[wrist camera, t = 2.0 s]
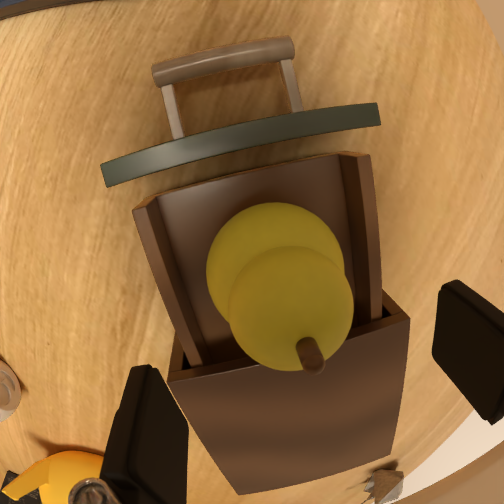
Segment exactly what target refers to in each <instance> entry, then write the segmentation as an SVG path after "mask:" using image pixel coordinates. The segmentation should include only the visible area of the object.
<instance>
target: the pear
mask: <svg viewBox="0 0 504 504" xmlns="http://www.w3.org/2000/svg"><path fill="white" fill-rule="evenodd" d="M344 274H345V273H344V260H343V255H342V251H341V249H340V246H339V243H338V241H337V239H336V237H335V235H334V234H333V233H332V231H331V230H330V228H329V227H328V226H327V225H326V224H325V223H324V222H323V221H322V220H321V219H320V218H319V217H317V216H316V215H315V214H313V213H311V212H309V211H308V210H306V209H304V208H302V207H299V206H296V205H292V204H288V203H279V202H273V203H263V204H258V205H255V206H252V207H249V208H247V209H245V210H243V211H241V212H239V213H238V214H236V215H235V216H234V217H232V218H231V219H230V220H229V221H228V222H227V223H226V224H225V225H224V226H223V227H222V228H221V229H220V231H219V232H218V234H217V235H216V237H215V239H214V241H213V243H212V245H211V248H210V251H209V254H208V259H207V264H206V277H207V285H208V289H209V293H210V295H211V298H212V300H213V303H214V305H215V306H216V308H217V310H218V311H219V312H220V314H221V315H222V316H223V317H224V319H225V320H226V321H227V322H228V323H230V327H231V330H232V333H233V335H234V337H235V339H236V341H237V342H238V344H239V345H240V347H241V348H242V349H243V350H244V351H245V353H246V354H248V355H249V356H250V357H251V358H252V359H254V360H255V361H257V362H258V363H260V364H262V365H264V366H267V367H269V368H272V369H276V370H281V371H298V370H304V371H305V372H306V373H307V374H309V375H317V374H319V373H321V372H322V371H323V370H324V368H325V360H327V359H328V358H329V357H331V356H332V355H333V354H334V353H335V352H336V351H337V350H338V349H339V348H340V346H341V345H342V344H343V342H344V340H345V339H346V337H347V335H348V332H349V330H350V328H351V324H352V319H353V312H354V303H353V296H352V291H351V288H350V285H349V283H348V281H347V279H346V277H345V275H344Z"/></svg>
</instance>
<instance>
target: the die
mask: <svg viewBox="0 0 504 504" xmlns="http://www.w3.org/2000/svg"><path fill="white" fill-rule="evenodd" d="M20 400H21V390H20V385H19V382H18V379H17V377H16V375H15V374H14V372H13V371H12V370H11V369H10V367H9V366H8V365H7V364H5V363H4V362H3V361H2V360H0V422H2V421H4V420H6V419H7V418H8V417H10V416H11V415H12V414H13V412H14V411H15V410H16V409H17V407H18V405H19V403H20Z"/></svg>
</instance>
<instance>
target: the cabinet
mask: <svg viewBox="0 0 504 504" xmlns="http://www.w3.org/2000/svg"><path fill="white" fill-rule="evenodd" d="M409 332H410V317H409V316H408V315H407V314H406V313H405V312H404V311H403V310H402V309H401V308H400V307H399V306H398V305H397V304H396V303H395V301H394V300H393V299H392V298H391V297H390V296H389V295H388V294H387V293H386V292H385V291H384V290H383V289H382V319H380V320H377V321H374V322H371V323H368V324H365V325H362V326H359V327H356V328H353V329H350V330H349V332H348V335H347V337H346V339H345V340H344V342H343V344H342V345H341V346H340V348H339V349H338V350H337V351H336V352H335V353H334V354H333V355H332V356H331V357H329V358H328V359H327V360H325V368H324V370H323V371H322V372H321V373H319V374H317V375H309V374H307V373H306V372H305V371H304V370H298V371H281V370H276V369H272V368H269V367H267V366H264V365H262V364H260V363H258V362H257V361H255V360H254V359H252V358H251V357H246V358H242V359H237V360H233V361H228V362H223V363H219V364H214V365H209V366H204V367H198V368H193V369H192V368H191V365H190V363H189V361H188V359H187V357H186V354H185V352H184V350H183V347H182V345H181V343H180V341H179V338H178V336H177V333H176V331H175V336H174V342H173V347H172V353H171V359H170V365H169V371H168V377H167V384H168V386H169V388H170V390H171V391H172V393H173V395H174V397H175V398H176V400H177V402H178V404H179V405H180V407H181V409H182V411H183V412H184V414H185V416H186V417H187V419H188V421H189V422H190V424H191V426H192V427H193V429H194V431H195V432H196V434H197V435H198V437H199V439H200V440H201V442H202V443H203V445H204V446H205V448H206V450H207V451H208V453H209V454H210V456H211V457H212V459H213V460H214V462H215V463H216V465H217V466H218V467H219V469H220V470H221V472H222V473H223V475H224V476H225V478H226V479H227V480H228V482H229V483H230V485H231V486H232V487H233V489H234V490H235V491H236V493H237V494H238V495H245V494H252V493H258V492H263V491H269V490H274V489H279V488H284V487H288V486H293V485H297V484H301V483H305V482H309V481H313V480H317V479H320V478H324V477H327V476H331V475H334V474H337V473H340V472H344V471H347V470H350V469H353V468H356V467H358V466H361V465H364V464H367V463H370V462H372V461H375V460H378V459H380V458H383V457H385V456H388V455H390V454H391V449H392V445H393V440H394V436H395V431H396V426H397V421H398V416H399V410H400V404H401V398H402V392H403V385H404V378H405V371H406V362H407V353H408V343H409Z"/></svg>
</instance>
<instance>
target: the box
mask: <svg viewBox="0 0 504 504" xmlns="http://www.w3.org/2000/svg"><path fill="white" fill-rule="evenodd" d="M17 477H18V475H16V474H14V473H12V472H9V471H7V474H6V476H5V479H4V482H3V485H2V487H1V490H0V504H42V501H41V497H40V493H39V487H38V488H36V489H35V490H33V491H31V492H29V493H28V494H26V495H24V496H22V497H21V498H19V500H13V499H12V498H10V497H9V496H7V495H6V494H5V493H3V492H2V489H3V488H4V487H5V486H7V485H8V484H9V483H11V482H12V481H13V480H14V479H16V478H17Z"/></svg>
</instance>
